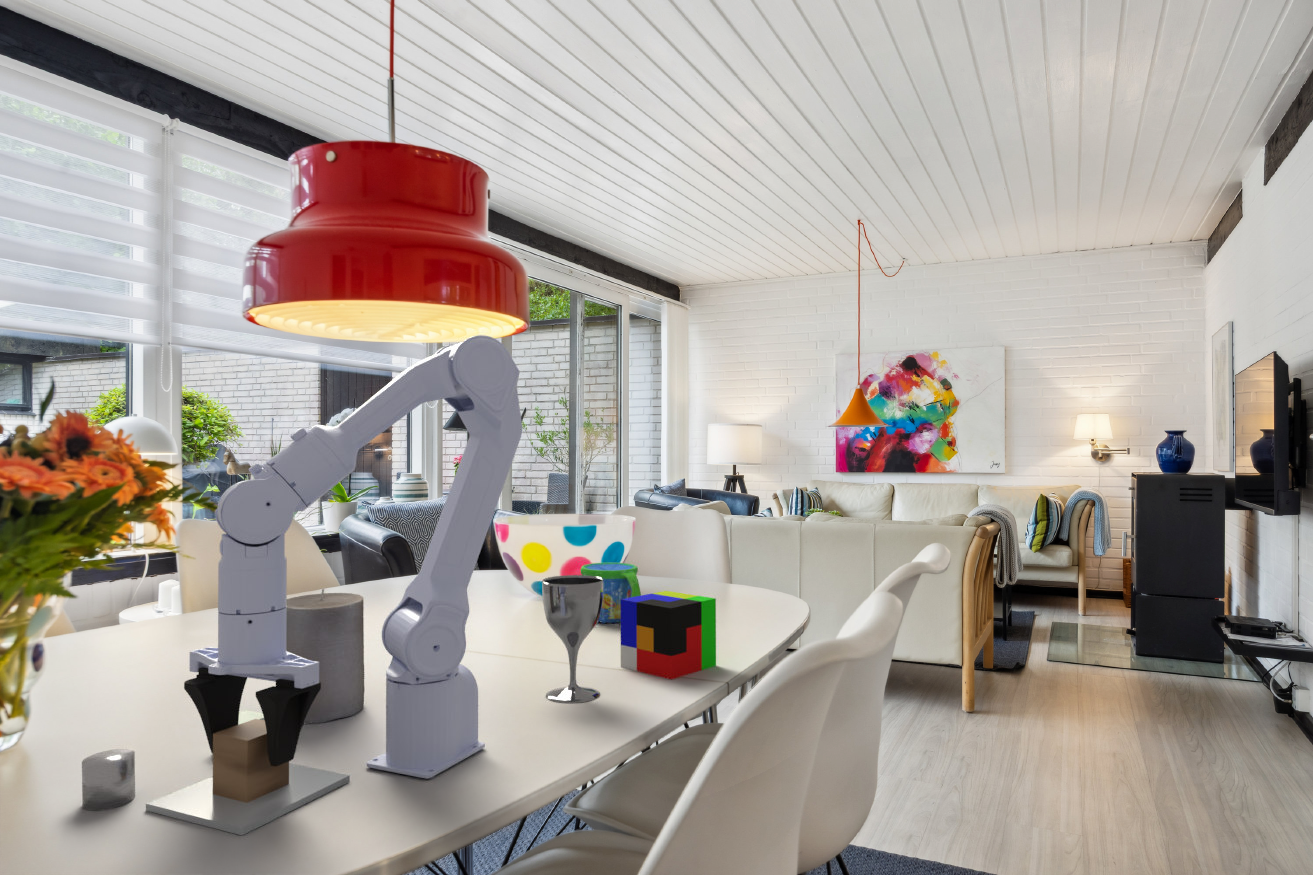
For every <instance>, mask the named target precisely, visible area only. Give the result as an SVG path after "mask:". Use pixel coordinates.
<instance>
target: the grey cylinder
mask: <svg viewBox="0 0 1313 875" xmlns="http://www.w3.org/2000/svg"><path fill="white" fill-rule="evenodd" d="M135 754H136V753H135V750H133V749H130V748H117V749H110V750H109V749H108V750H105V751H100V752H97V753H95V754H91V755H89V756H87V757H85V758H83V760H82V761H81V780H82V781H81V786H82V787H81V788H82V789H81V790H82V791H81V792H82V793H81V796H82V801H81V802H82V809H83V810H85V811H89V812H99V811H100V812H101V811H108V810H112V809H116V808H120V807H122V806H124V805H126V804H128V803H130V802H132V801H133V800H134V799H135V798H136V764H135V763H136V762H135V761H136V760H135Z"/></svg>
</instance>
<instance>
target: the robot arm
mask: <svg viewBox="0 0 1313 875" xmlns="http://www.w3.org/2000/svg"><path fill="white" fill-rule="evenodd" d="M519 377H520V370H519V368H518V366H517V364H516V363H515V360H514V359H513V358H512V356H511V354H510V353H509V350H508V349H507V347H506V346H505V345H504V344H503V343H502V342H500V341H499V340H498V339H497V338H494V337H493V336H489V335H485V334H484V335H483V334H478V335H473V336H470V337H467V338H466V339H465V340H463V341H461V342H459V343H455V344H452V343H451V344H449V345H448V344H447V345H445V346H443V347H441V348H439V349H438V350H437V351H436V352H435V353H434V354H433V355H430V356H427V357H426V358H423V359H422V360H420V361H417V362H416V363H415V364H413V365H411V366H409V367H408V368H406V369H405V370H403V371H402V372H400V373H399V374H398V375H397V376H396V377H394V378H393V379H392V380H391V381H390V382H388V383H387V384H386V385H384V387H382V388H381V389H380V390H379V391H377V392H376V393H375V394H374V395H373V396H371V397H370V398H369V399H368V400H367V401H364V403H362V404H361V406H359V407H358V408H357V409H355V410H354V411H353V412H352V413H351V414H349V415H348V416H347V417H346V418H344V419H343V420H342V421H340V423H338V424H337V425H336V426H330V425H329V426H328V425H322V424H316V425H313V426H311V427H310V428H309V429H308V430H306V429H305V428H303V427H301V428H298V429H297V430H296V431H295V432H293V433H292V434H290V438H291V440H292V442H291V443H289V444H288V445H287V446H285V447H284V448H283V449H281V450H280V451H278V452H277V453H276V454H275V455H273V456H272V457H271V458H269V459H268V460H267V461H266V462H264V463H263V464H260V463H258V462H255V463H254V464H253V465H252V466H250V467H249V468H248V472H249V474H251V475H252V477H253V479H251V478H250V479H247V480H241V481H238V482H236V483H234V484H232V485H231V486H229V487H228V488H227V489H226V490H225V491H224V492H223V493H222V494H221V496H220V498H219V501H218V503H217V508H216V509H215V510H214V516H215V520H216V522H217V524H218V526H219V528H220V529H221V530H222V531H223V532H224V533H222V534H221V539H220V541H219V553H220V555H221V557H220V559H219V561H218V563H217V564H218V571H217V572H218V573H217V575H218V577H217V579H218V585H217V588H218V590H217V604H218V605H217V611H218V612H217V621H218V624H217V647H211V646H206V647H203V648H198V649H195V650H190V651H189V672H192V673H198V674H196V677H194V678H190V679H187V680H185V681H184V682H183V689H184V690H185V692H186V693H187V695H188V696H189V698H190V699H191V700H192V702H193V704H194V706H195V708H196V710H197V711H198V714H199V717H200V719H201V723H202V725H203V728H204V732H205V736H206V739H207V743H208V745H209V746H208V747H209V749H210V752H211V754H213V733H216V732H219V731H222V730H225V729H228V728H231V727H233V726H236V725H238V721H239V712H240V708H241V702H242V698H243V693H244V689H245V685H246V683H247V680H248V678H249V679H255V680H260V681H261V680H262V681H268V682H275V685H273V686H270V687H267V688H262V689H260V690H257V691H255V698H256V700H257V701H258V704H259V706H260V709H261V713H263V716H264V720H265V725H266V731H267V747H268V757H269V761H270V765H271V766H279V765H281V764H284V763H286V762H288V761H289V762H290V761H292V760H294V758H295V754H296V751H297V746H298V743H299V739H300V736H301V732H302V728H303V726H304V724H303V723H304V720H305V718H306V715H307V713H308V711H309V709H310V707H311V705H312V703H313V701H314V699H315V697H316V696H317V694H318V692H319V691H320V689H321V681H319V662H316V661H311V660H307V659H305V658H302V657H300V656H297V655H295V654H292V653H290V652H287V651H286V618H287V599H288V598H287V595H288V594H287V591H288V587H287V582H288V581H287V580H288V577H287V574H288V573H287V572H288V569H287V564H288V563H287V558H286V556H285V553H286V552H285V549H286V548H285V544H286V543H285V540H286V538H285V534H286V533H287V532H288V530H289V528H290V527H291V524H292V522H293V517H294V513H296V512H304V511H306V509H308V508H310V506H311V505H313V504H314V503H316V501H318V500H319V499H320V498H322V497H323V496H324V495H326V493H328V492H329V491H330V490H332V489H333V488H334V487H336V485H338V484H339V483H340V482H341V481H343V480H344V479H345V478H346V477H347V476H349V475H351V474H352V473H353V472H354V471H355V470H356V467H357V457H358V452H359V450H360V449H362V448H363V447H364V446H366V445H367V444H370V442H371V441H373V440H374V439H375V438H377V437H378V436H380V435H381V434H382V433H384V432H385V431H386V430H388V429H389V428H391V427H392V426H393V425H395V423H397V422H398V421H400V420H402V419H403V418H404V417H405V416H407V415H408V414H409V413H411V412H412V411H413V410H415V409H416V408H417V407H418V406H421V405H422V404H424V403H428V402H429V403H430V402H433V401H434V402H435V401H439V400H444V401H445V402H446V403H448V404H449V405H450V407H452V408H453V409H454V410H455V411H456V412H457V414H458V416H459V417H460V418H459V419H461V421H462V424H463V425H464V427H465V428H466V430H467V432H468V434H469V437H468V440H467V443H466V446H465V448H464V452H463V454H462V456H461V459H460V462H459V464H458V467H457V470H456V473H455V475H454V477H453V480H452V483H451V486H450V489H449V492H448V495H447V497H446V500H445V502H444V505H443V508H442V509H441V510H442V511H441V514H440V516H439V519H438V522H437V524H436V526H435V529H434V532H433V535H432V537H431V540H430V543H429V546H428V548H427V551H426V554H425V557H424V559H423V562H422V565H421V567H420V571H419V573H418V574H417V575H416V577H415V578H414V579H413V580H412V581H411V582H409V585H407V587H406V589H405V591H404V592H403V593H404V594H403V597H402V598H401V601H400V602H399V603H398V604H397V606H395V608H394V609H392V610H391V612H390V613H389V614H388V615H387V617H386V618H385V620H384V622H383V625H382V627H381V628H382V630H381V641H382V645H383V647H384V648H385V651H386V652H387V653H388V654H389V655H390V656H392V659H391V661H390V664H389V666H388V667H387V669H386V672H385V677H386V678H385V679H386V683H385V687H386V688H385V693H386V695H385V752H384V753H382V754H380V755H378V756H376V757H373V758H372V759H370V760H368V761H366V767H367V768H370V769H375V770H380V771H386V772H391V773H394V774H395V773H396V774H400V775H406V776H410V777H411V776H412V777H416V778H421V779H431V778H434V777H435V776H436V775H437V776H438V774H440V773H441V772H444V771H446V770H448V769H449V768H451V767H453V766H454V765H456V764H459V762H461V761H463V760H465V759H466V758H469V757H471V756H472V755H473V754H476V753H477V752H479V751H481V750H482V749H485V747H486V745H485V742H483V741H479V687H478V684H477V680H476V677H475V676H474V674H473V672H472V671H471V670H470V669H469V668H468V667H466V666H465V665H463V664H461V663H462V660H463V658H464V655H465V654H466V649H467V648H466V647H467V638H466V624H467V620H468V617H469V615H470V604H469V595H468V587H469V584H470V582H471V578H472V575H473V573H474V570H475V567H476V565H477V561H478V560H479V555H480V554H481V550H482V548H483V545H484V543H485V539H486V537H487V533H488V530H489V528H490V525H491V523H492V519H493V516H494V514H495V510H496V508H497V505H498V503H499V500H500V497H501V494H502V491H503V489H504V485H505V483H506V480H507V477H508V474H509V472H510V469H511V466H512V464H513V461H514V457H515V455H516V452H517V449H518V447H519V443H520V440H521V438H522V434H523V422H522V421H523V420H522V416H521V415H522V414H521V407H520V399H519V393H518V382H519Z"/></svg>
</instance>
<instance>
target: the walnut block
mask: <svg viewBox="0 0 1313 875" xmlns="http://www.w3.org/2000/svg"><path fill="white" fill-rule="evenodd" d="M289 763H290V761H288V762H286V763H284V764H281V765H279V766H271V765H270V761H269V757H268V747H267V731H266V725H265V721H264V720H259V719H254V720H251V721H248V722H245V723H242V724H239V725H236V726H233V727H231V728H228V729H225V730H222V731H219V732H216V733H213V753H212V776H213V794H214V795H218V796H222V797H226V798H230V799H234V800H238V801H242V802H245V803H248V802H250V801H253V800H255V799H257V798H259V797H261V796H264V795H266V794H268V793H270V792H272V791H275V790H277V789H279V788H281V787H284V786H286V785H288V784H289Z"/></svg>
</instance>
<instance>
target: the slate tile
mask: <svg viewBox="0 0 1313 875" xmlns="http://www.w3.org/2000/svg"><path fill="white" fill-rule="evenodd" d="M350 776H351V775H350V774H345V773H341V772H335V771H332V770H331V771H330V770H325V769H323V768H322V769H321V768H316V767H311V766H306V765H301V764H296V763H291V762H289V784H288V785H286V786H284V787H281V788H279V789H277V790H275V791H272V792H270V793H268V794H266V795H264V796H261V797H259V798H257V799H255V800H253V801H250V802H248V803H245V802H242V801H238V800H234V799H230V798H226V797H222V796H218V795H214V794H213V775H212V776H210V777H208V778H207V777H206V778H205V779H203V780H200V781H198V782H195V783H193V784H191V785H187V786H185V787H183V788H180V789H178V790H176V791H173V792H170V793H168V794H166V795H163V796H160V797H159V798H156V799H154V800H151V801H149V802H146V803H145V811H147V812H151V813H154V814H159V815H163V816H165V817H169V818H174V819H176V820H180V821H185V822H189V823H193V824H197V825H199V826H200V825H202V826H204V827H208V828H212V829H216V830H220V831H224V832H227V833H231V834H234V835H239V836H244V835H246V834H248V833H250V832H252V831H254V830H255V829H258V828H260V827H261V826H264V825H266V824H268V823H270V822H272V821H273V820H276V819H278V818H280V817H283V816H284V815H286V814H288V813H290V812H291V811H294V810H295V809H298V808H301V807H302V806H304V805H306V804H308V803H309V802H312V801H314V800H315V799H317V798H320V797H322V796H324V795H325V794H327V793H330V792H331V791H334V790H335V789H339V787H342V786H345V785H346V784H347V783H350V781H351V777H350Z"/></svg>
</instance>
